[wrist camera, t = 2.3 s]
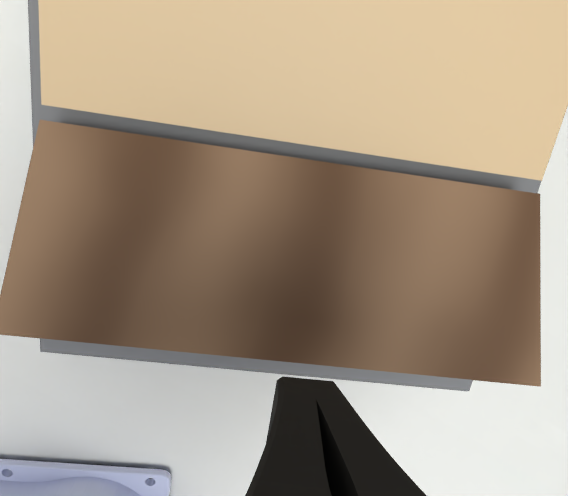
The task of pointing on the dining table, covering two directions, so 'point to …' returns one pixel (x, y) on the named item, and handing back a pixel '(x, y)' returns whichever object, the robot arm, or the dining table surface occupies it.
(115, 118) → the base board
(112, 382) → the dining table surface
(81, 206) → the walnut plank
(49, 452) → the dining table surface
